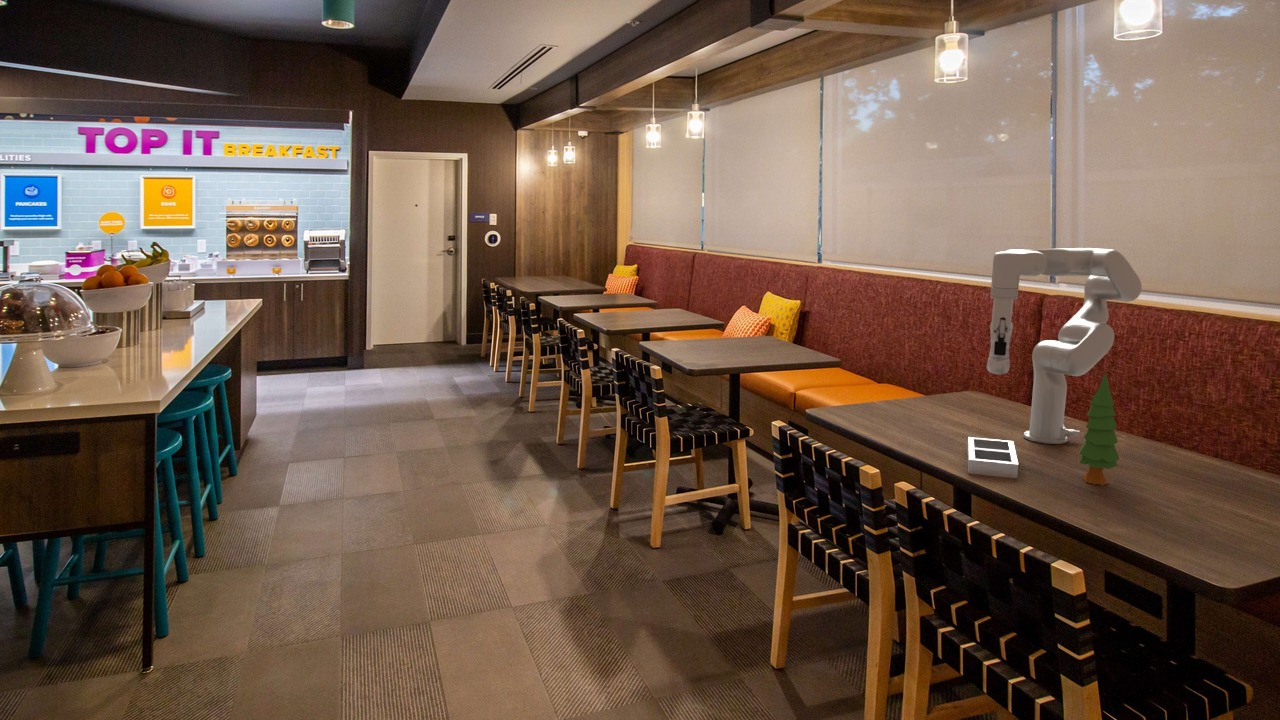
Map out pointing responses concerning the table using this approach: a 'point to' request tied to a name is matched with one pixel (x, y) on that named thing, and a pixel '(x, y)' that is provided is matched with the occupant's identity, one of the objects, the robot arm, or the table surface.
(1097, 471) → the decorative tree
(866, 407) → the table surface
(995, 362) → the plastic bottle
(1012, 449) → the white flat box
